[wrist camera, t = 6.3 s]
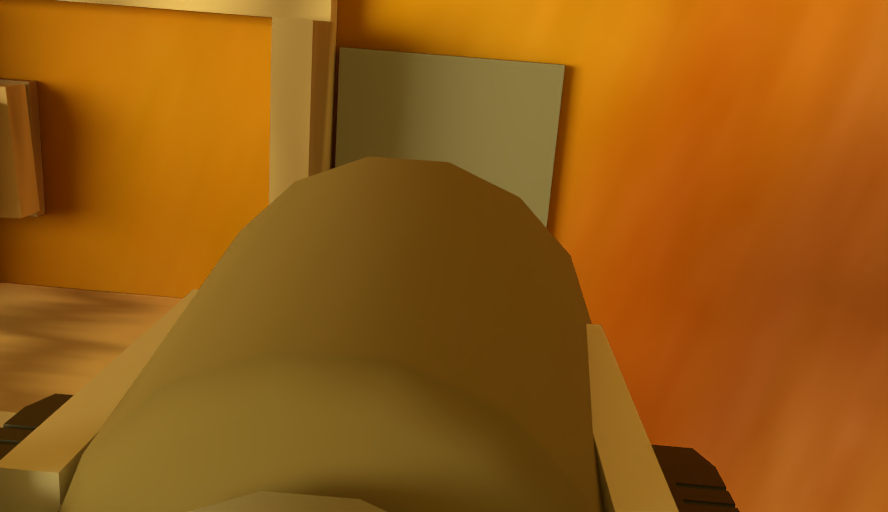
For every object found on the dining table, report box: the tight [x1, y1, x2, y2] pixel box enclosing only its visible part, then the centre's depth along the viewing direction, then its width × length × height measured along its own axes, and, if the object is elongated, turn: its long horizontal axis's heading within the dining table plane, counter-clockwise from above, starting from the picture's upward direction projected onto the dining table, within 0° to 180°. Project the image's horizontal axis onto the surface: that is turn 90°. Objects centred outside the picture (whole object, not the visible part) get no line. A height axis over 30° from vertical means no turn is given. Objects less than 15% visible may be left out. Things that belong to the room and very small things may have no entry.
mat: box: [335, 47, 565, 228], centre depth 35 cm, size 10×11×1 cm
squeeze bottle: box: [59, 156, 605, 512], centre depth 12 cm, size 8×8×18 cm
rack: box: [0, 0, 338, 428], centre depth 30 cm, size 20×16×12 cm
